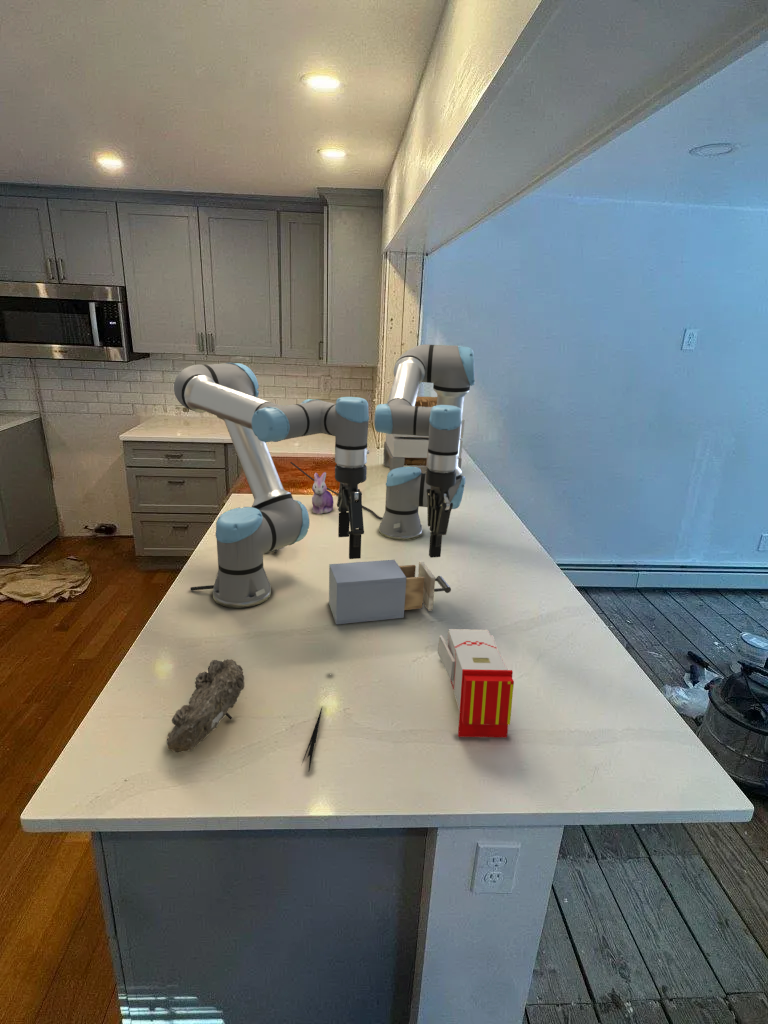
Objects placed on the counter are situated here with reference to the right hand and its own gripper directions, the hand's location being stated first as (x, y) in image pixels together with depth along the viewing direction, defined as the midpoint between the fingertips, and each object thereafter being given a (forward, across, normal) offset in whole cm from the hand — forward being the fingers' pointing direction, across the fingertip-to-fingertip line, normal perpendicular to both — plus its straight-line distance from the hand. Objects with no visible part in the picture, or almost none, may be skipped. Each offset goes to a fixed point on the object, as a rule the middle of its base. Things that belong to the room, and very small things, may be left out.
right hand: (434, 556), depth 148 cm
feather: (+14, -39, +36) cm, 55 cm away
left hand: (-4, 0, +23) cm, 23 cm away
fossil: (+14, -34, +56) cm, 67 cm away
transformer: (+14, +124, -38) cm, 130 cm away
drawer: (+13, 0, +7) cm, 15 cm away
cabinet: (+14, 0, +18) cm, 23 cm away
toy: (+14, -37, +4) cm, 40 cm away
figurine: (+14, +78, +17) cm, 81 cm away
